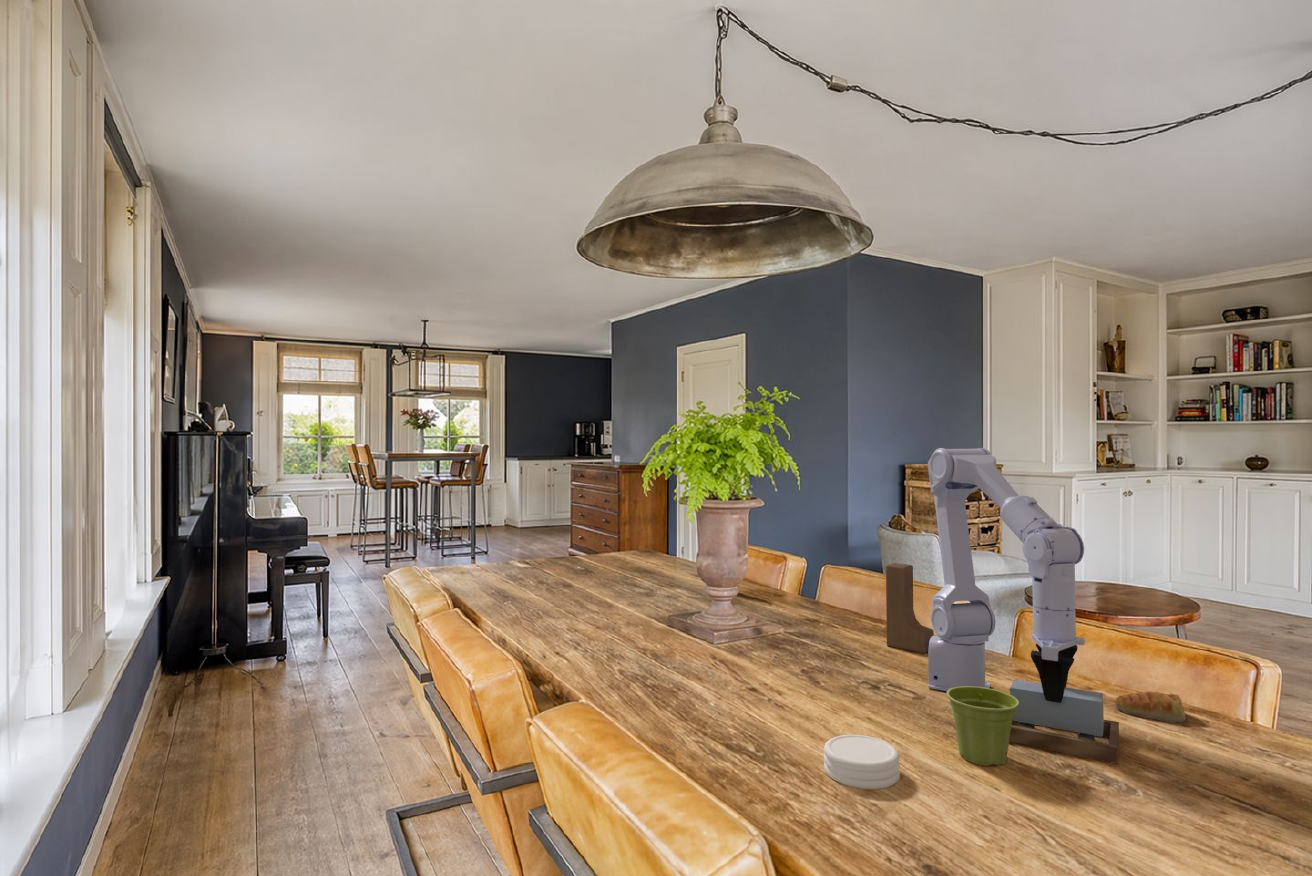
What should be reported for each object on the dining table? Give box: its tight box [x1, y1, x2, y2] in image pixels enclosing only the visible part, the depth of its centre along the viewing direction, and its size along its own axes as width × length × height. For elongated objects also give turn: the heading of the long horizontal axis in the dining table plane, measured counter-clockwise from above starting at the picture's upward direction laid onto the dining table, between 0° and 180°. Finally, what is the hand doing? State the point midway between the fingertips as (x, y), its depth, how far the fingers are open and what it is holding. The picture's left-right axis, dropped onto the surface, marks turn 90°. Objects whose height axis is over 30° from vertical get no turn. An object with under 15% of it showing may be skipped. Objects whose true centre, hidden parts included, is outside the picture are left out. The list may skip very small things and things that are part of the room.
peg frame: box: [1009, 719, 1120, 765], centre depth 107 cm, size 16×11×2 cm
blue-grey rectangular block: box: [1009, 679, 1105, 738], centre depth 107 cm, size 12×4×5 cm, turn 56°
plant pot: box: [946, 686, 1019, 767], centre depth 101 cm, size 9×9×9 cm
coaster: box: [823, 734, 901, 790], centre depth 97 cm, size 10×10×4 cm
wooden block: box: [885, 562, 935, 654], centre depth 155 cm, size 9×4×18 cm, turn 45°
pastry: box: [1114, 691, 1186, 723], centre depth 117 cm, size 9×7×4 cm
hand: (1055, 696), depth 107 cm, fingers closed on blue-grey rectangular block, 4 cm apart
